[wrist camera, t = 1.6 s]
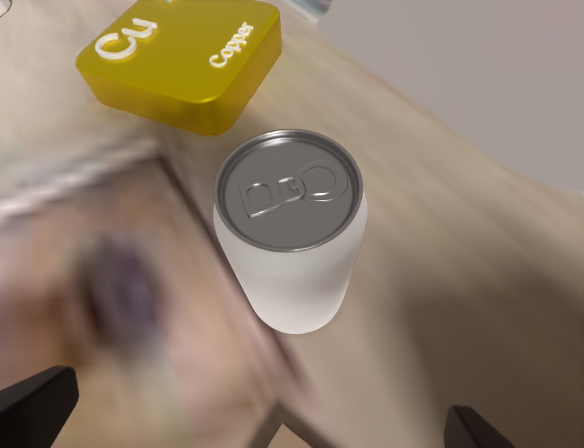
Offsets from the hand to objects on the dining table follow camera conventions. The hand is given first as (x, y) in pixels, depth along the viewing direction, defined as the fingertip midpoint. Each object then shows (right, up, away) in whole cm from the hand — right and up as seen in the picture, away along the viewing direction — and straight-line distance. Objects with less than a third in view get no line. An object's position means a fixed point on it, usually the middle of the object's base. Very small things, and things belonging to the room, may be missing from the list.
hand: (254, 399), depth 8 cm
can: (+1, 0, +15) cm, 15 cm away
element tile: (-9, +20, +27) cm, 35 cm away
